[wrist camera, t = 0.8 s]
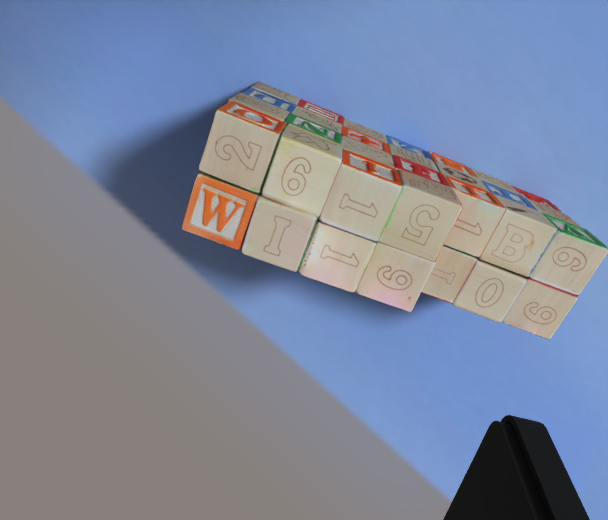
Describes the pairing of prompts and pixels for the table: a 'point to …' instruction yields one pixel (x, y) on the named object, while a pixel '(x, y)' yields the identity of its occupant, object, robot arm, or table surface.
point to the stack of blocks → (383, 215)
